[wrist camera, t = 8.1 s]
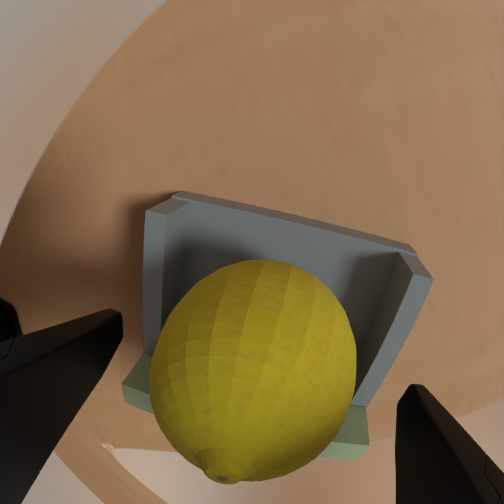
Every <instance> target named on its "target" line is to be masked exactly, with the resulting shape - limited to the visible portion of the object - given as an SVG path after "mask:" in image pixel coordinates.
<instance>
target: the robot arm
mask: <svg viewBox="0 0 504 504" xmlns="http://www.w3.org/2000/svg"><path fill="white" fill-rule="evenodd" d="M122 338H123V321H122V314H121V313H120V312H119V311H116V310H113V309H106V310H103V311H99V312H96V313H93V314H90V315H87V316H84V317H81V318H77V319H74V320H71V321H68V322H65V323H62V324H58V325H55V326H52V327H49V328H46V329H42V330H39V331H36V332H33V333H30V334H26V335H23V336H22V334H21V331H20V327H19V324H18V320H17V316H16V313H15V310H14V309H13V307H12V306H10V305H9V304H7V303H6V302H4V301H2V300H1V299H0V504H21V503H22V501H23V500H24V498H25V496H26V494H27V493H28V491H29V489H30V488H31V486H32V484H33V483H34V481H35V479H36V478H37V476H38V474H39V473H40V472H39V471H41V469H42V467H43V466H44V464H45V463H46V461H47V459H48V458H49V456H50V455H51V453H52V451H53V450H54V448H55V447H56V445H57V443H58V442H59V440H60V439H61V437H62V436H63V434H64V433H65V431H66V429H67V428H68V426H69V425H70V423H71V422H72V420H73V419H74V417H75V416H76V414H77V413H78V411H79V410H80V408H81V407H82V405H83V404H84V402H85V401H86V399H87V398H88V396H89V395H90V393H91V392H92V390H93V389H94V388H95V386H96V385H97V383H98V382H99V380H100V379H101V377H102V376H103V374H104V372H105V370H106V368H107V366H108V365H109V363H110V361H111V359H112V357H113V355H114V353H115V352H116V350H117V348H118V346H119V344H120V342H121V341H122ZM395 464H396V504H504V473H503V472H502V471H501V470H500V469H499V467H498V466H497V465H496V464H495V463H494V462H493V461H492V460H491V459H490V457H489V456H488V455H486V453H485V452H484V451H483V450H482V448H481V447H480V446H479V445H478V444H477V443H476V442H475V441H474V440H473V439H472V437H471V436H470V435H469V434H468V433H467V432H466V431H465V430H464V428H463V427H462V426H461V425H460V424H459V423H458V422H457V421H456V420H455V419H454V418H453V416H452V415H451V414H450V413H449V412H448V411H447V410H446V409H445V408H444V407H443V406H442V405H441V404H440V402H439V401H438V400H437V399H436V398H435V397H434V396H433V395H432V394H431V393H430V392H429V391H428V390H427V389H426V388H425V386H423V385H421V384H411V385H409V387H408V388H407V390H406V391H405V393H404V394H403V396H402V397H401V399H400V400H399V402H398V404H397V416H396V439H395Z"/></svg>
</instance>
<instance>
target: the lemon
mask: <svg viewBox="0 0 504 504" xmlns="http://www.w3.org/2000/svg"><path fill="white" fill-rule="evenodd" d="M355 383H356V344H355V339H354V336H353V333H352V330H351V326H350V323H349V320H348V317H347V315H346V312H345V310H344V309H343V307H342V306H341V304H340V303H339V301H338V300H337V298H336V297H335V296H334V294H333V293H332V291H331V290H330V289H329V288H328V287H327V286H326V285H325V284H324V283H322V282H321V281H320V280H319V279H318V278H316V277H315V276H314V275H313V274H311V273H310V272H307V271H305V270H303V269H301V268H299V267H297V266H295V265H293V264H290V263H285V262H280V261H275V260H271V259H261V260H246V261H242V262H239V263H235V264H232V265H228V266H225V267H222V268H220V269H219V270H217V271H215V272H214V273H212V274H210V275H209V276H207V277H205V278H204V279H202V280H200V281H199V282H198V283H196V284H195V285H194V286H193V287H192V288H191V289H190V290H189V291H188V292H187V294H186V295H185V296H184V297H183V298H182V299H181V300H180V302H179V303H178V304H177V305H176V306H175V308H174V309H173V310H172V312H171V313H170V315H169V317H168V318H167V320H166V322H165V325H164V327H163V329H162V332H161V334H160V337H159V339H158V342H157V344H156V347H155V350H154V353H153V356H152V360H151V365H150V375H149V395H150V401H151V406H152V409H153V411H154V414H155V417H156V420H157V422H158V424H159V427H160V429H161V430H162V432H163V433H164V435H165V436H166V438H167V439H168V441H169V442H170V443H171V445H172V446H173V447H174V448H175V449H176V450H177V451H178V452H179V453H180V454H181V455H182V456H183V457H184V458H185V459H186V460H188V461H189V462H190V463H192V464H193V465H195V466H196V467H198V468H200V469H202V470H203V472H204V473H205V475H206V476H207V477H208V478H209V479H211V480H213V481H215V482H218V483H222V484H235V483H237V482H239V481H262V480H268V479H272V478H276V477H280V476H284V475H286V474H289V473H291V472H293V471H295V470H297V469H299V468H301V467H303V466H304V465H306V464H308V463H309V462H311V461H312V460H314V459H315V458H316V457H317V456H319V455H320V454H321V453H322V452H323V451H324V450H325V448H326V447H327V446H328V445H329V444H330V443H331V442H332V441H333V440H334V438H335V437H336V435H337V433H338V432H339V430H340V428H341V426H342V424H343V422H344V419H345V417H346V415H347V412H348V410H349V407H350V404H351V401H352V398H353V394H354V389H355Z"/></svg>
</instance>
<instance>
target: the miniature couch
mask: <svg viewBox="0 0 504 504" xmlns="http://www.w3.org/2000/svg"><path fill="white" fill-rule="evenodd" d="M261 259H271V260H275V261H280V262H285V263H290V264H293V265H295V266H297V267H299V268H301V269H303V270H305V271H307V272H310V273H311V274H313V275H314V276H315V277H316V278H318V279H319V280H320V281H321V282H322V283H324V284H325V285H326V286H327V287H328V288H329V289H330V290H331V291H332V293H333V294H334V296H335V297H336V298H337V300H338V301H339V303H340V304H341V306H342V307H343V309H344V310H345V312H346V315H347V317H348V320H349V323H350V326H351V330H352V333H353V336H354V339H355V344H356V383H355V389H354V394H353V398H352V401H351V404H350V407H349V410H348V412H347V415H346V417H345V419H344V422H343V424H342V426H341V428H340V430H339V432H338V433H337V435H336V437H335V438H334V440H333V441H332V442H331V443H330V444H329V445H328V446H327V447H326V448H325V450H324V451H323V452H322V453H321V454H320V455H319V457H327V458H336V459H346V460H357V459H358V458H359V457H360V456H361V455H362V454H363V452H364V451H365V450H366V449H367V447H368V446H369V436H368V425H367V414H366V407H367V406H368V404H369V403H370V401H371V400H372V398H373V396H374V395H375V393H376V392H377V390H378V388H379V387H380V385H381V383H382V382H383V380H384V378H385V377H386V375H387V373H388V371H389V370H390V368H391V366H392V364H393V363H394V361H395V359H396V357H397V355H398V354H399V352H400V350H401V348H402V346H403V344H404V342H405V340H406V338H407V336H408V334H409V332H410V330H411V328H412V326H413V324H414V322H415V320H416V318H417V316H418V314H419V312H420V310H421V307H422V305H423V303H424V301H425V299H426V296H427V294H428V292H429V289H430V287H431V285H432V282H433V280H434V279H433V277H432V276H431V275H430V273H429V272H428V271H427V269H426V268H425V267H424V265H423V264H422V263H421V262H420V260H419V259H418V258H417V253H416V252H415V250H414V249H413V248H412V247H411V246H410V245H408V244H404V243H401V242H397V241H394V240H390V239H386V238H383V237H379V236H375V235H371V234H368V233H364V232H360V231H356V230H352V229H348V228H345V227H341V226H337V225H333V224H329V223H325V222H321V221H317V220H312V219H308V218H304V217H300V216H296V215H291V214H287V213H283V212H279V211H274V210H270V209H265V208H261V207H256V206H252V205H247V204H243V203H238V202H233V201H229V200H224V199H219V198H214V197H209V196H205V195H200V194H195V193H189V192H184V191H180V192H178V193H176V194H173V195H171V198H170V199H168V200H166V201H164V202H162V203H160V204H158V205H156V206H153V207H151V208H149V209H147V210H146V213H145V229H144V250H143V343H144V354H143V355H142V356H141V358H140V359H139V361H138V362H137V363H136V365H135V366H134V367H133V369H132V370H131V371H130V373H129V374H128V376H127V377H126V378H125V380H124V381H123V382H122V388H123V394H124V400H125V402H126V403H128V404H131V405H133V406H135V407H138V408H140V409H143V410H145V411H148V412H150V413H153V414H154V411H153V409H152V406H151V401H150V395H149V375H150V365H151V360H152V356H153V353H154V350H155V347H156V344H157V342H158V339H159V337H160V334H161V332H162V329H163V327H164V325H165V322H166V320H167V318H168V317H169V315H170V313H171V312H172V310H173V309H174V308H175V306H176V305H177V304H178V303H179V302H180V300H181V299H182V298H183V297H184V296H185V295H186V294H187V292H188V291H189V290H190V289H191V288H192V287H193V286H194V285H195V284H196V283H198V282H199V281H200V280H202V279H204V278H205V277H207V276H209V275H210V274H212V273H214V272H215V271H217V270H219V269H220V268H222V267H225V266H228V265H232V264H235V263H239V262H242V261H246V260H261Z"/></svg>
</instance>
